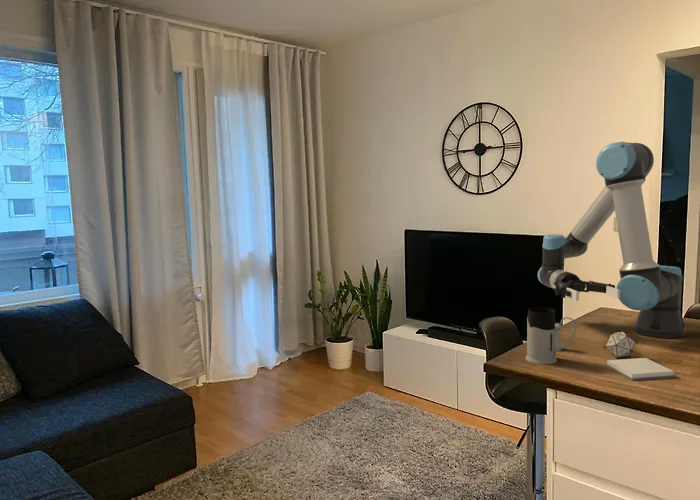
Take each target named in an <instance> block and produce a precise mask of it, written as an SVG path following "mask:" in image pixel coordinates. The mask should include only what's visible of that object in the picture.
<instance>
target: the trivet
mask: <svg viewBox="0 0 700 500" xmlns="http://www.w3.org/2000/svg"><path fill="white" fill-rule="evenodd" d="M605 366H606V367H608V368H609V369H610V370H613V371H614V372H616V373H618V374H619V375H621V376H624V377H625V378H626V379H628V380H631V381H642V380H654V379H655V380H656V379H658V380H659V379H670V378H671V379H672V378H675V377H676V375H675V372H674V370H672V369H671V368H668V367H666V366H663V365H661V364H659V363H657V362H655V361H653V360H651V359H649V358H647V357H638V358H637V357H636V358H627V359H626V358H624V359H621V358H620V359H618V360H617V359H611V360H610V359H608V360H606V363H605Z"/></svg>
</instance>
